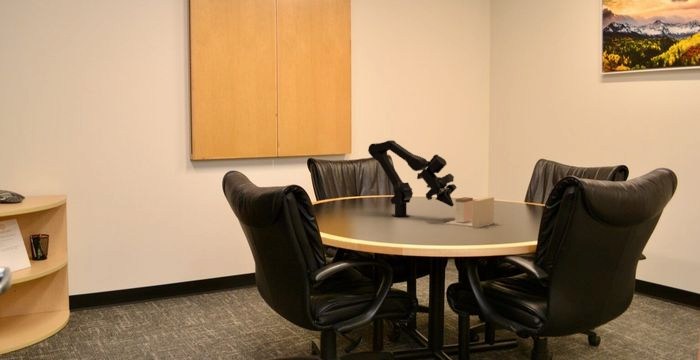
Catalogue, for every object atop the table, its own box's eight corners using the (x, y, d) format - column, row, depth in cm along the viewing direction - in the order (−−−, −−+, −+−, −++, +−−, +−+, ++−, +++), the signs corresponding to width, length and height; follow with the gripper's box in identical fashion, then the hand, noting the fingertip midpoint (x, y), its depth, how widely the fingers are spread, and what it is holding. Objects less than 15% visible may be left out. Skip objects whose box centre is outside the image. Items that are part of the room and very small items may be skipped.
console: (445, 223, 278) (446, 197, 277) (461, 219, 289) (461, 194, 288) (478, 227, 268) (479, 200, 267) (493, 223, 279) (494, 197, 278)
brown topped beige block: (455, 221, 278) (455, 199, 277) (464, 219, 285) (464, 197, 284) (463, 222, 276) (463, 199, 275) (472, 220, 282) (472, 197, 281)
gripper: (431, 169, 278) (453, 196, 272) (453, 166, 292) (474, 192, 286) (416, 186, 283) (437, 212, 278) (438, 182, 298) (458, 207, 292)
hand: (452, 205), depth 283 cm, fingers closed
